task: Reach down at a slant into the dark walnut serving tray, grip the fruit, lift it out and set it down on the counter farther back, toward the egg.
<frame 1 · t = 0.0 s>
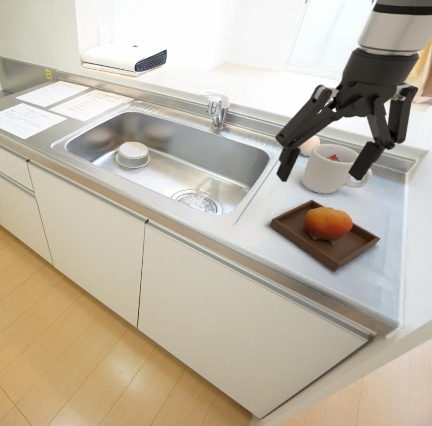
hand: (317, 177, 53), 16 cm above the counter, tool pointing down, fingers open, 13 cm apart
egg: (305, 155, 89), on the counter
tray: (319, 235, 63), on the counter
cup: (325, 189, 76), on the counter
fruit: (320, 234, 62), resting on tray
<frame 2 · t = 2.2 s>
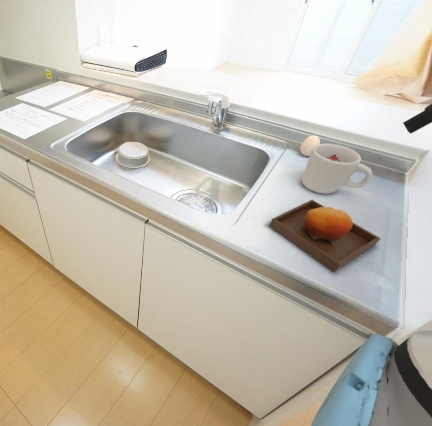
nothing on the counter moved.
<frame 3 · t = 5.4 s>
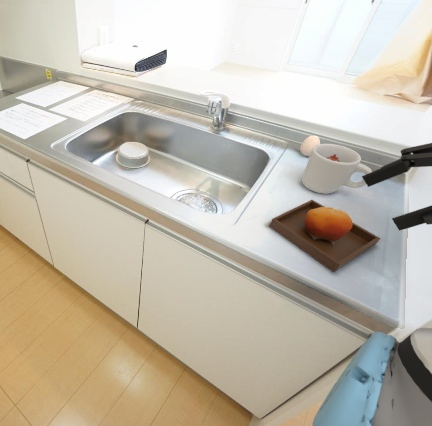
hand: (378, 201, 54), 11 cm above the counter, tool tilted 45°, fingers open, 13 cm apart
nothing on the counter moved.
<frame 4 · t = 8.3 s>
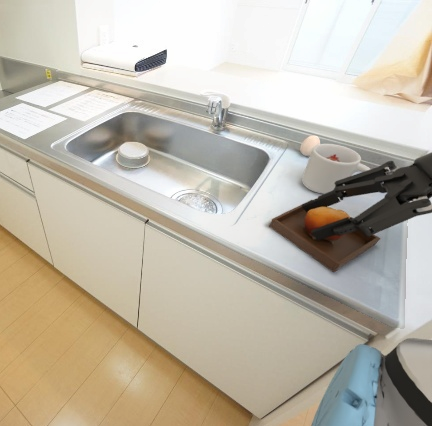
hand: (309, 221, 61), 4 cm above the counter, tool tilted 45°, fingers closed on fruit, 8 cm apart
fruit: (319, 234, 63), resting on tray, touching gripper
everything else where it was.
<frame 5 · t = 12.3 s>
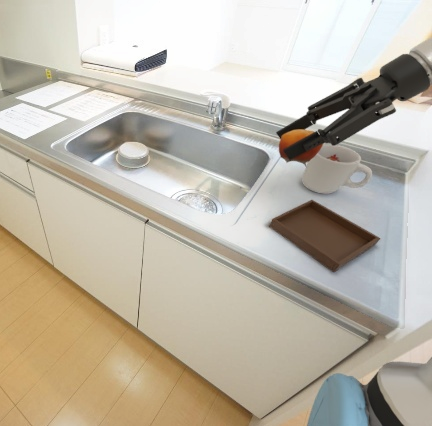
hand: (282, 145, 62), 16 cm above the counter, tool tilted 45°, fingers closed on fruit, 8 cm apart
fruit: (293, 159, 64), point 12 cm above the counter, touching gripper
everything else where it was.
when the fingers open (3 cm above the counter, at t = 16.6 s): fruit stays where it is, on the counter.
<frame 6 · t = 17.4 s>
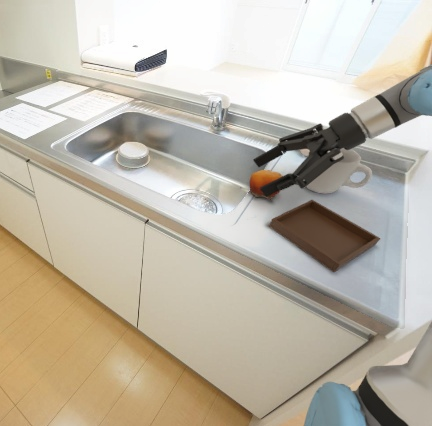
hand: (258, 177, 72), 5 cm above the counter, tool tilted 45°, fingers open, 13 cm apart
fruit: (262, 193, 75), on the counter
everything else where it was.
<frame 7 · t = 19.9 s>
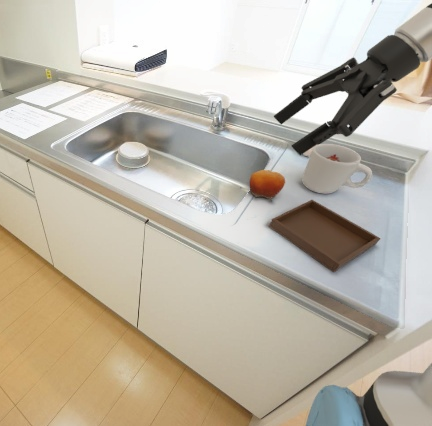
hand: (285, 134, 61), 18 cm above the counter, tool tilted 40°, fingers open, 13 cm apart
nothing on the counter moved.
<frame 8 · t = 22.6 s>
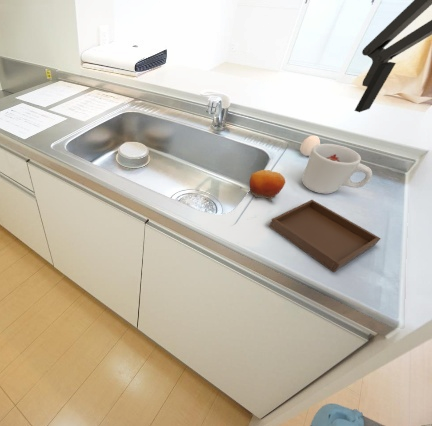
hand: (413, 125, 39), 29 cm above the counter, tool pointing down, fingers open, 13 cm apart
nothing on the counter moved.
at the end: fruit inside the target area (0.1 cm from its centre), on the counter; fruit 28.8 cm from the egg (horizontally); the gripper is holding nothing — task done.
